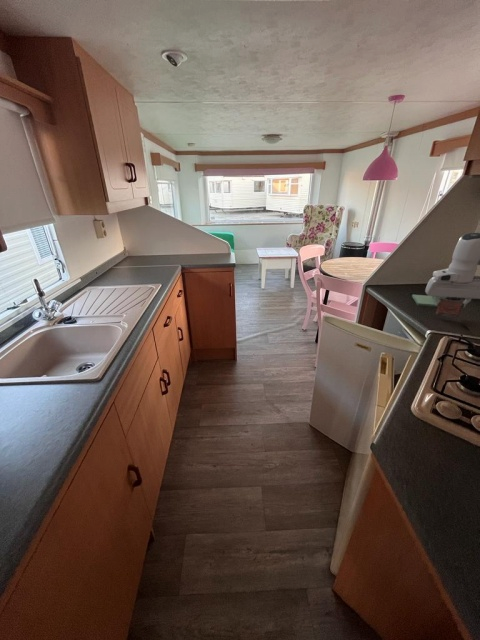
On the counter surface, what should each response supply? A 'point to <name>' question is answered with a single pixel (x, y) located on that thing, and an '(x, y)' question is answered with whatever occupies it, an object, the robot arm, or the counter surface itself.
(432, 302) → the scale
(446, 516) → the counter surface
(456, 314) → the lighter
